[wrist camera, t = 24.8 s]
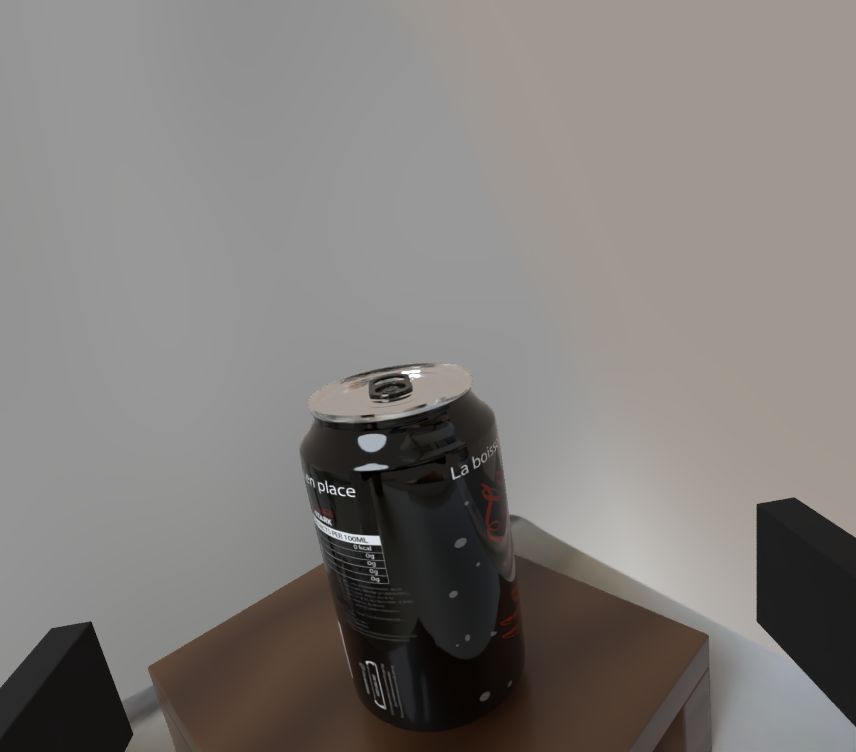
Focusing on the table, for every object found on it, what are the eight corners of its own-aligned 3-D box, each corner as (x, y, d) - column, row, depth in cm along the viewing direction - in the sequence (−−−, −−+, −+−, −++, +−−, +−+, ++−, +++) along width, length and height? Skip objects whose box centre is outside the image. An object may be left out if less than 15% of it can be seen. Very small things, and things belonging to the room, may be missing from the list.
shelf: (712, 752, 23) (709, 634, 22) (444, 1232, 13) (402, 1074, 12) (425, 591, 36) (411, 510, 35) (182, 769, 26) (146, 666, 25)
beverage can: (505, 601, 25) (470, 348, 22) (554, 730, 19) (514, 396, 16) (357, 631, 25) (300, 378, 22) (353, 775, 18) (271, 440, 15)
